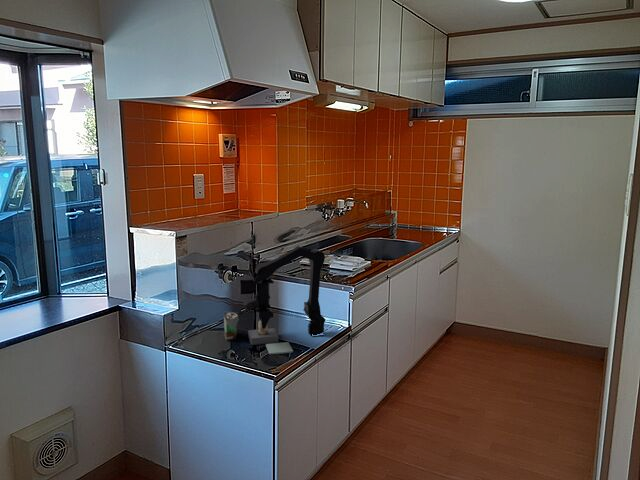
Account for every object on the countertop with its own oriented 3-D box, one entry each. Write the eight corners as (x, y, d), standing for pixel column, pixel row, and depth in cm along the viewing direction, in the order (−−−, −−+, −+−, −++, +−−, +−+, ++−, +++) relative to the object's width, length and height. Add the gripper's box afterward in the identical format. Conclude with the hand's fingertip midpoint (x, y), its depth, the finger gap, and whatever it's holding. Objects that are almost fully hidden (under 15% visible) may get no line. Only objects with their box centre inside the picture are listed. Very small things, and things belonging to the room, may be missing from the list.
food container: (240, 340, 220) (240, 319, 219) (226, 342, 219) (226, 320, 217) (237, 331, 232) (236, 310, 230) (223, 332, 230) (223, 311, 228)
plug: (266, 334, 224) (266, 319, 223) (268, 337, 221) (268, 322, 219) (257, 335, 223) (257, 320, 222) (259, 338, 219) (259, 323, 218)
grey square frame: (274, 334, 228) (274, 328, 228) (278, 342, 219) (278, 336, 218) (248, 336, 225) (248, 330, 225) (251, 344, 216) (251, 338, 215)
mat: (288, 343, 218) (288, 342, 218) (293, 352, 209) (293, 351, 209) (265, 345, 216) (265, 344, 215) (269, 354, 206) (269, 353, 206)
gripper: (241, 288, 225) (242, 321, 228) (247, 300, 207) (247, 335, 210) (266, 286, 228) (266, 319, 231) (273, 298, 210) (273, 333, 213)
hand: (263, 326), depth 221 cm, fingers closed on plug, 4 cm apart
